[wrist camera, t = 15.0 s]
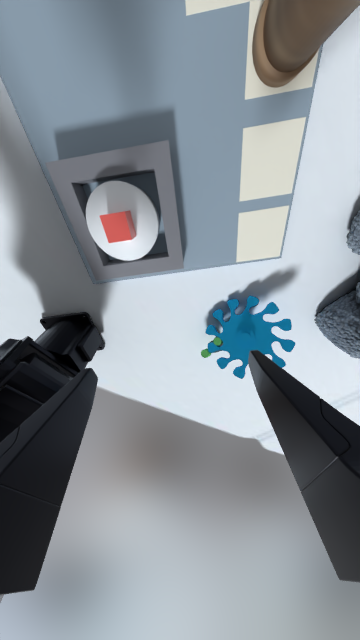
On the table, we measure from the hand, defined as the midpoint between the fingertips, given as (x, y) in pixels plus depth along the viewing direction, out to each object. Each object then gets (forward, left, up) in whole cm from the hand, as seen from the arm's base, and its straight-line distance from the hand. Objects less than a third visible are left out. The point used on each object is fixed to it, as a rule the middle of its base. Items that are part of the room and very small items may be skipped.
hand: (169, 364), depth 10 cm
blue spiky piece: (+7, -8, -13) cm, 17 cm away
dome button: (-3, +6, -12) cm, 14 cm away
